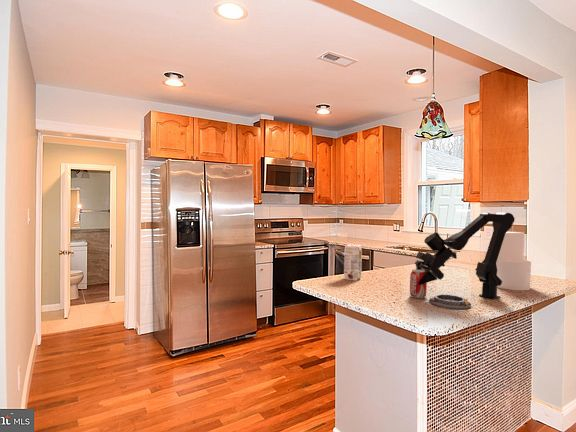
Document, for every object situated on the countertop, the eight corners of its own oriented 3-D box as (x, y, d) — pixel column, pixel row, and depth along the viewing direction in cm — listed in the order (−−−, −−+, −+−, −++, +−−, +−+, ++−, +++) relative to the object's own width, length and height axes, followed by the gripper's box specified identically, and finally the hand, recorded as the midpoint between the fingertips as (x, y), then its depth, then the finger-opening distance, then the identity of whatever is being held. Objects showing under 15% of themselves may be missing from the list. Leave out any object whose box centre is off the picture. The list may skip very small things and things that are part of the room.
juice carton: (357, 281, 192) (357, 246, 191) (342, 279, 197) (343, 245, 196) (362, 279, 198) (363, 245, 198) (348, 277, 203) (348, 243, 202)
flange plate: (445, 297, 161) (445, 288, 161) (479, 306, 148) (479, 296, 147) (421, 301, 153) (421, 292, 153) (454, 311, 140) (455, 301, 139)
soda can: (426, 299, 157) (427, 272, 156) (409, 297, 159) (410, 271, 159) (426, 295, 163) (426, 269, 163) (409, 294, 166) (410, 268, 165)
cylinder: (483, 283, 191) (485, 231, 190) (507, 281, 197) (509, 231, 196) (512, 291, 175) (514, 234, 174) (538, 289, 180) (540, 234, 179)
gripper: (419, 243, 170) (395, 266, 170) (437, 248, 151) (411, 273, 151) (435, 259, 171) (411, 282, 170) (455, 266, 152) (429, 292, 152)
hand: (415, 282), depth 161 cm, fingers closed on soda can, 7 cm apart
